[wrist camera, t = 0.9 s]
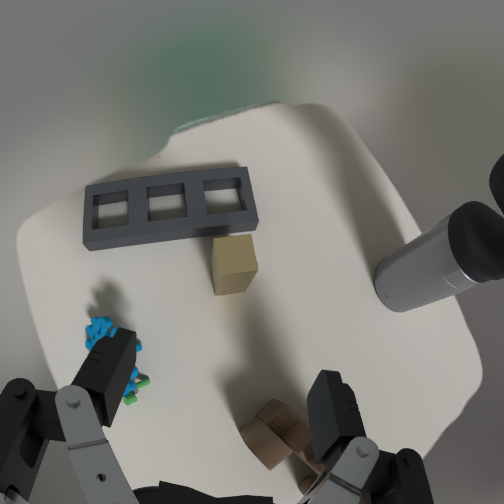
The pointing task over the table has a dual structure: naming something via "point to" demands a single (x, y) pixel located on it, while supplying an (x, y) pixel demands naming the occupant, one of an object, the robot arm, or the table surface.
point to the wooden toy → (282, 439)
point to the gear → (102, 328)
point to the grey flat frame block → (168, 229)
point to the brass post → (233, 264)
